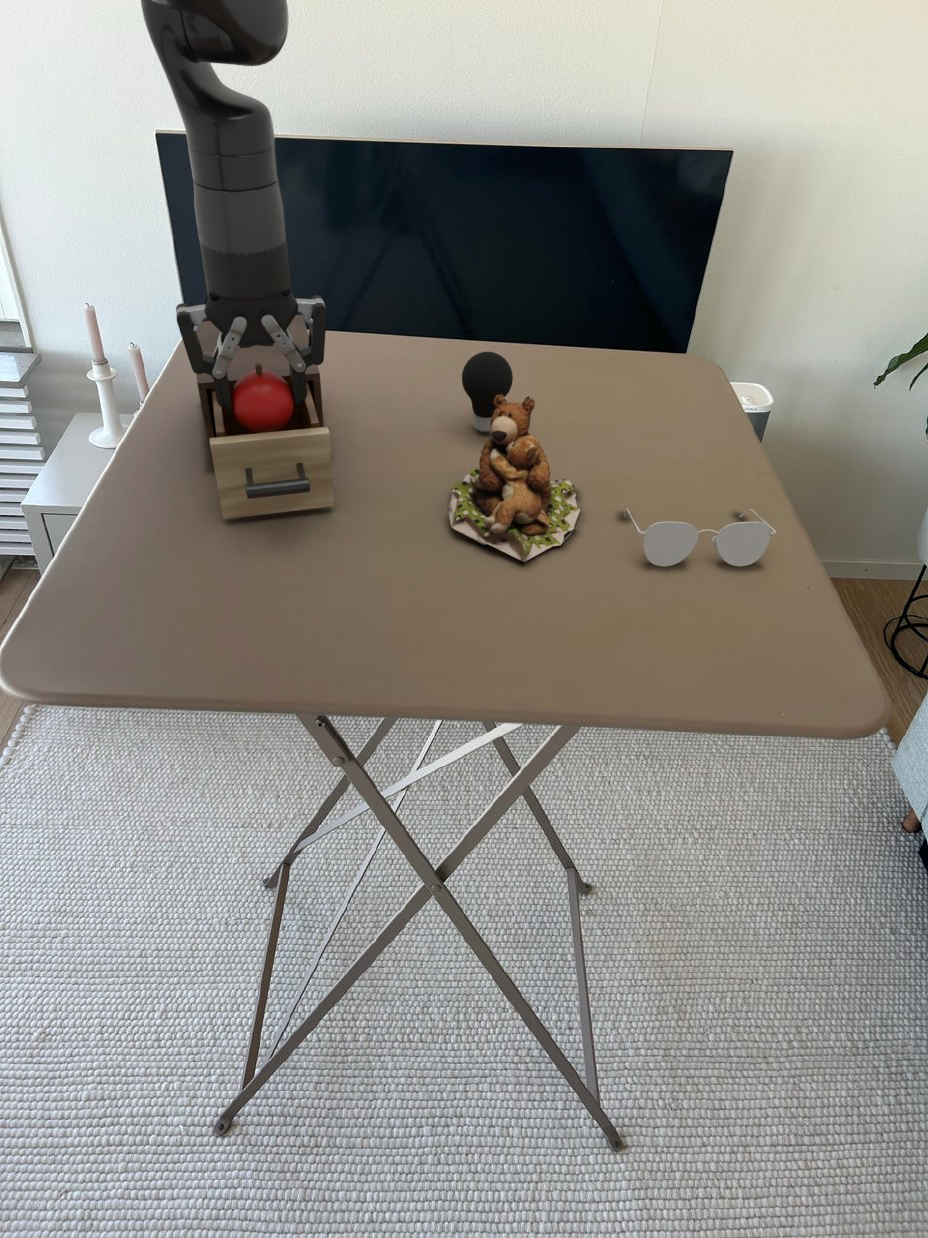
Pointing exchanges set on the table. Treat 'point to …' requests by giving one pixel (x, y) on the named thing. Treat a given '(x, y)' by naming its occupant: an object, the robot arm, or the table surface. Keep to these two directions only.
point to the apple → (262, 400)
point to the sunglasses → (732, 541)
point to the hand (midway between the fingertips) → (263, 404)
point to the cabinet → (246, 362)
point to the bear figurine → (513, 490)
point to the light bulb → (486, 385)
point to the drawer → (272, 463)
